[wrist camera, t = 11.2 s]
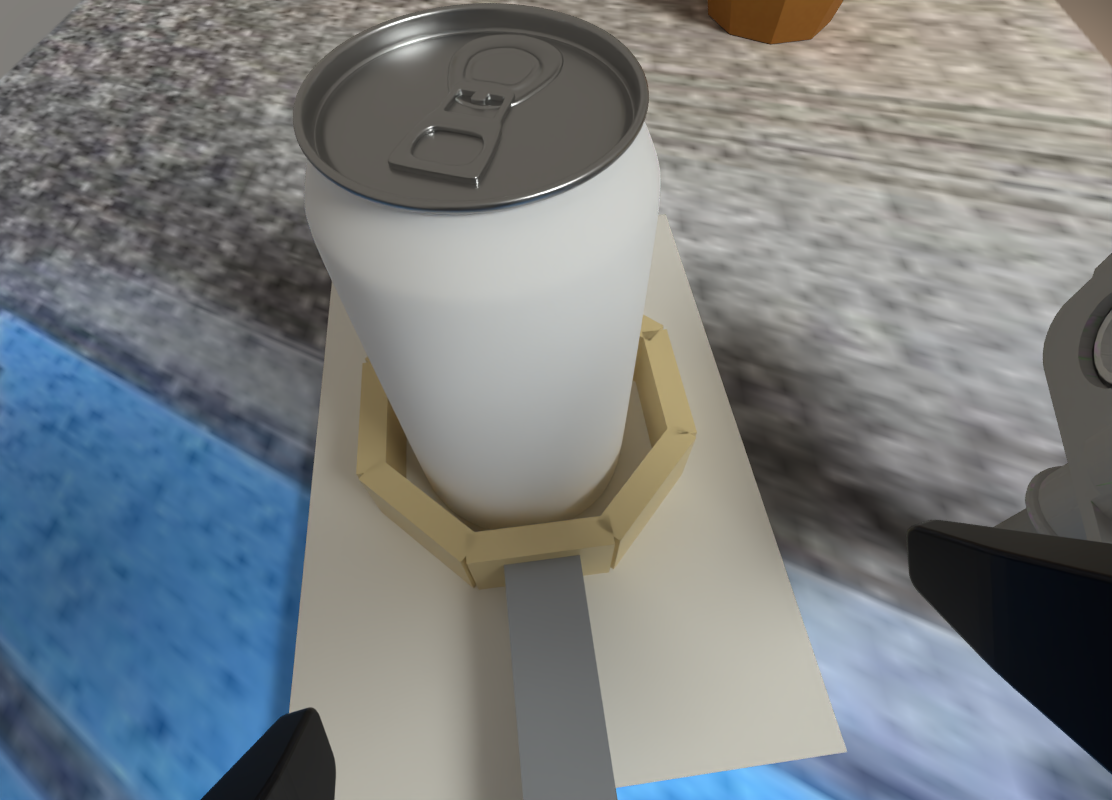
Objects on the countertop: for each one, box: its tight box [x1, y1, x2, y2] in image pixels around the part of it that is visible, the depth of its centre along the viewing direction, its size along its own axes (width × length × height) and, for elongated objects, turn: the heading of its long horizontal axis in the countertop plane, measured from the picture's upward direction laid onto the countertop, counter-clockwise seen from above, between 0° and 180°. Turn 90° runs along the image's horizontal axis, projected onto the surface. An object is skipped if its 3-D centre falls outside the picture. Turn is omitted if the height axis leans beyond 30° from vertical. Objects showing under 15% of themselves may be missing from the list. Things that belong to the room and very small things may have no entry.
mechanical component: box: [994, 253, 1112, 544], centre depth 14 cm, size 3×10×10 cm, turn 167°
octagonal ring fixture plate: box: [289, 214, 847, 800], centre depth 19 cm, size 25×14×4 cm, turn 7°
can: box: [293, 3, 661, 530], centre depth 14 cm, size 6×6×12 cm
